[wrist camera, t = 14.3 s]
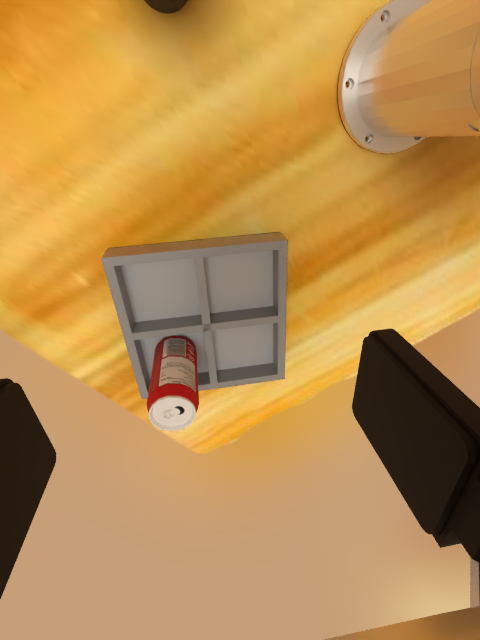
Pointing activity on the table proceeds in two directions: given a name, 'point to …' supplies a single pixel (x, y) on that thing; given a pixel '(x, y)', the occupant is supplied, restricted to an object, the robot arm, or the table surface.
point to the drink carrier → (205, 305)
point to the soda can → (173, 384)
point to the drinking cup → (166, 5)
